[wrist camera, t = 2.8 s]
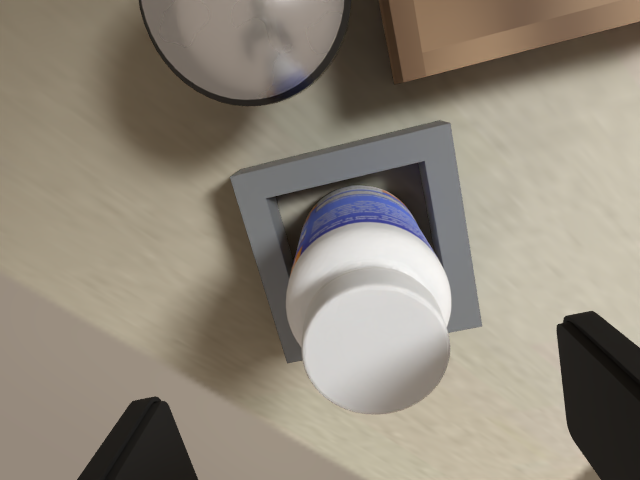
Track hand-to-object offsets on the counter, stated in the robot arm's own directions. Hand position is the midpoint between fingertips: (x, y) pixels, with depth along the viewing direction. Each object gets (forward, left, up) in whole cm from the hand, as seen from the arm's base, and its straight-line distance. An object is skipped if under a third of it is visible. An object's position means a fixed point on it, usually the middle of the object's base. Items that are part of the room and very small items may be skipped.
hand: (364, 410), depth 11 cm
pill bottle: (0, 0, -12) cm, 12 cm away
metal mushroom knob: (+1, -10, -11) cm, 15 cm away
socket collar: (0, 0, -11) cm, 11 cm away
